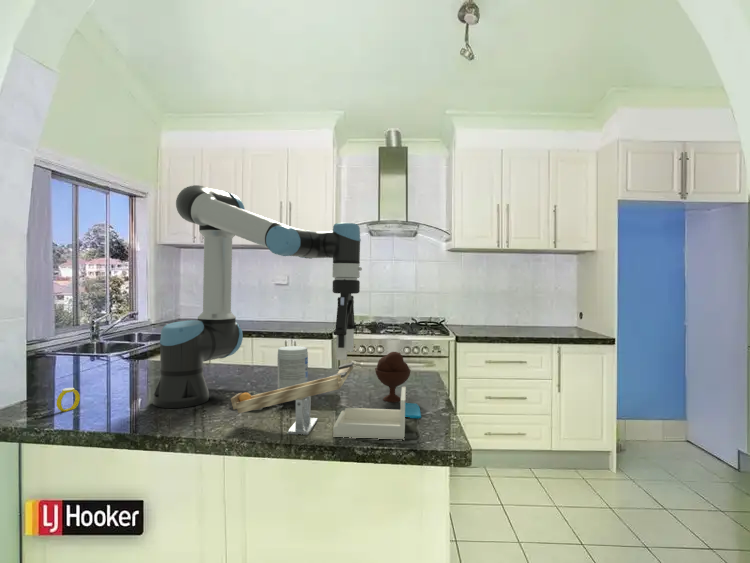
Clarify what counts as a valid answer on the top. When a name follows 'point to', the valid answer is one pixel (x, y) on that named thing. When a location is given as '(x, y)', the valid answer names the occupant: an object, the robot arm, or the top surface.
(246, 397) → the ball
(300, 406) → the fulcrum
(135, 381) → the top surface
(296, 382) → the supplement tub
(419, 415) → the sponge
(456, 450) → the top surface
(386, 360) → the ice cream bowl
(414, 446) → the top surface
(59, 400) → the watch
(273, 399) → the beige angled channel
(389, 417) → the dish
